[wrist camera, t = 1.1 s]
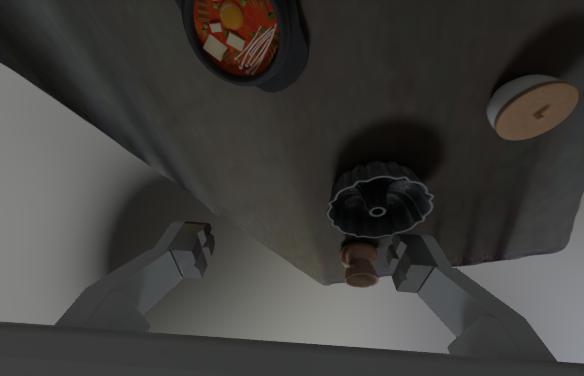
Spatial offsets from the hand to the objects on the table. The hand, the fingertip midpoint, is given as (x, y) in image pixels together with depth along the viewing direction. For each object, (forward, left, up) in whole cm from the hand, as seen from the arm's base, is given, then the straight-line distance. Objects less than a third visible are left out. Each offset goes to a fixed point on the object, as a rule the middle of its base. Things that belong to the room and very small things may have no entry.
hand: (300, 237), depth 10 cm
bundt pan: (+28, +33, -42) cm, 60 cm away
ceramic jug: (+60, +50, -42) cm, 88 cm away
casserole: (+5, -11, -42) cm, 43 cm away
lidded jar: (-5, +40, -42) cm, 58 cm away
